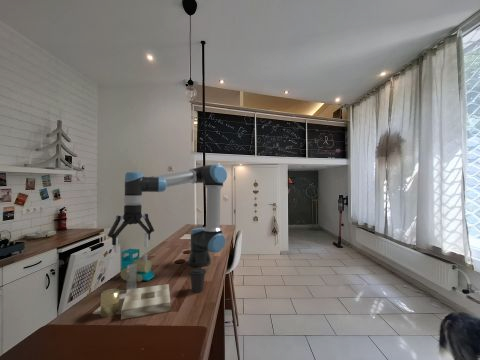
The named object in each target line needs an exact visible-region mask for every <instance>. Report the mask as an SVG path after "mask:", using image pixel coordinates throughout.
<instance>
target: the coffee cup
mask: <svg viewBox="0 0 480 360" xmlns="http://www.w3.org/2000/svg"><path fill="white" fill-rule="evenodd" d="M206 273H207V271H206V269H204V268H201V267H195V268H193V269H191V270H189V275H190V284H191V292H192V293H194V294H199V293H201V292H203V290H204V286H205V285H204V284H205V275H206Z"/></svg>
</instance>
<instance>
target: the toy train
mask: <svg viewBox="0 0 480 360" xmlns="http://www.w3.org/2000/svg"><path fill="white" fill-rule="evenodd" d="M140 250H141V249H139V248H138V249H137V248H129V249H128V248H127V249H125V250H123V251H121V261H120V262H121V266H120V267H121V270H120V278H121V279H122V280H124V281H127V266H128V265H131V264H137V281H136V282H139V283H140V282H142V281H150V280H151V279H153V278H154V277H155V276H156V275H155V273H154V272H153V271H152V270H151V269H152V261H151V260H149V259H148V253H144V254H142V256H143V257H142V259H140ZM125 254H128V255H126V256H124V255H125ZM135 254H137V255H136V256H134V257H133V255H135Z"/></svg>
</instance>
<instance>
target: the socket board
mask: <svg viewBox="0 0 480 360" xmlns="http://www.w3.org/2000/svg"><path fill="white" fill-rule="evenodd" d="M170 292H171V291H170V284H169V283H167V284H166V283H165V284H159V285H158V284H157V285H151V286H145V287H139V288H137V287H136V289H129V290H127V293H125V297H124V299H123V304H122V307H121V311H120V316H121V317H120V321H121V320H127V319H132V318H137V317H143V316H149V315H154V314H158V313H159V314H160V313H165V312H170V311H171V293H170Z"/></svg>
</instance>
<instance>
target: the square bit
mask: <svg viewBox="0 0 480 360" xmlns="http://www.w3.org/2000/svg"><path fill="white" fill-rule="evenodd" d="M137 282H138V281H137V264H131V265H128V266H127V280H126V289H125V290H126V293H127V290H129V289H136V288H137ZM126 293H125V294H126Z"/></svg>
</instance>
